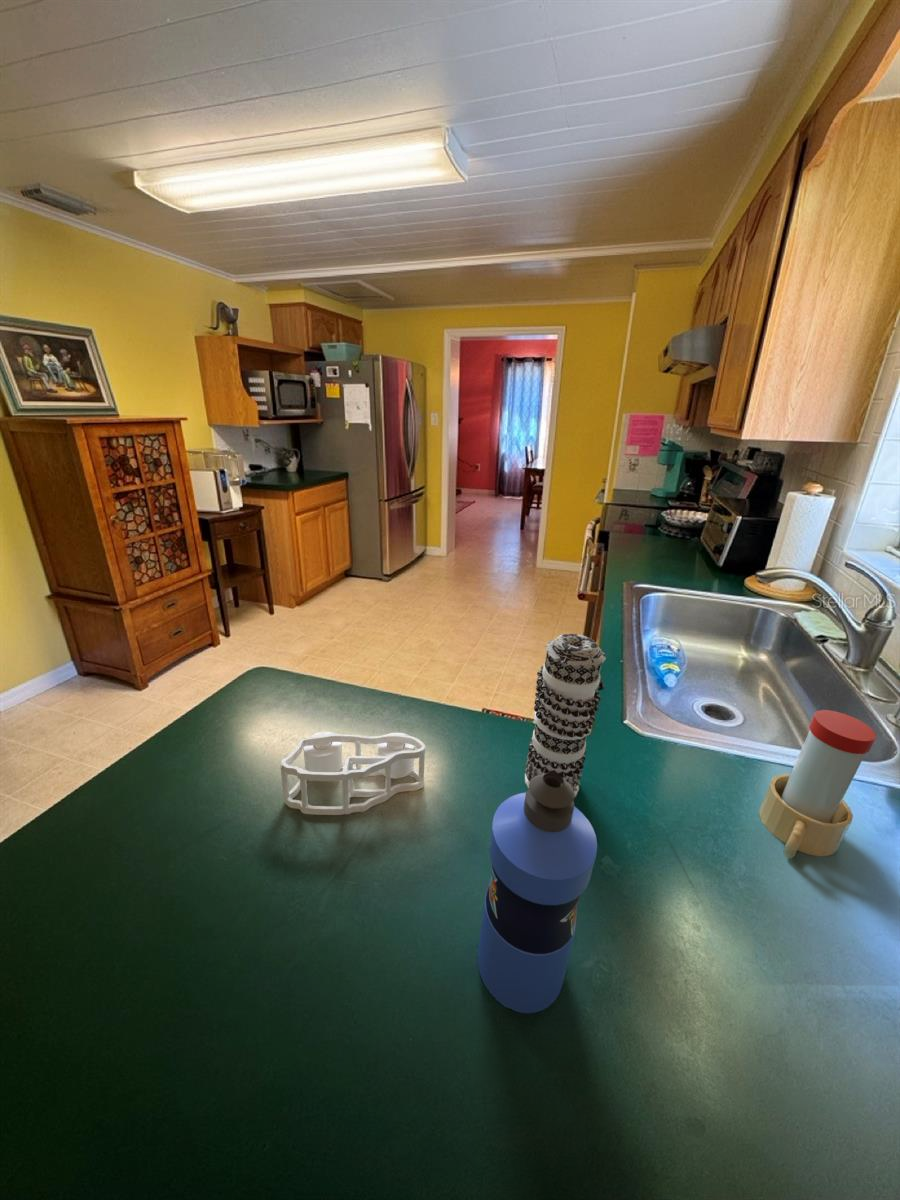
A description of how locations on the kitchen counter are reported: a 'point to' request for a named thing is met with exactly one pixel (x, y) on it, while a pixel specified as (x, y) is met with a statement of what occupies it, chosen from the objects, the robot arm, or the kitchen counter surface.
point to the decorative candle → (565, 708)
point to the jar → (827, 764)
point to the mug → (802, 824)
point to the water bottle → (534, 893)
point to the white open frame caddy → (352, 769)
